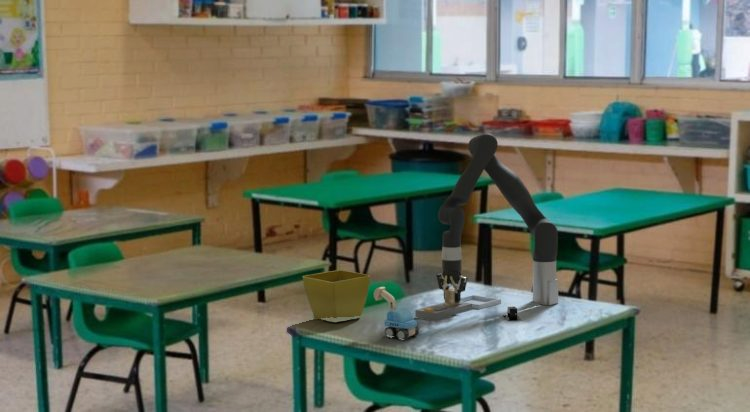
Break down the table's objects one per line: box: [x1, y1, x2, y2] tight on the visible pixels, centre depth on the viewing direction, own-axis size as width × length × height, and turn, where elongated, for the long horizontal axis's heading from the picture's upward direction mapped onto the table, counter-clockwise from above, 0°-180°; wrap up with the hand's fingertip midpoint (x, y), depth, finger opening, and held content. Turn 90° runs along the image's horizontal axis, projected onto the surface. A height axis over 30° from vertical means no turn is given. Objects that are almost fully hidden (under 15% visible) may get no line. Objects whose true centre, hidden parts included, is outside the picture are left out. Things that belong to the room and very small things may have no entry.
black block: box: [502, 306, 523, 322], centre depth 474 cm, size 12×7×5 cm, turn 7°
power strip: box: [414, 301, 473, 322], centre depth 482 cm, size 10×22×4 cm, turn 137°
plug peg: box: [444, 287, 459, 307], centre depth 485 cm, size 4×4×9 cm
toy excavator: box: [373, 286, 420, 340], centre depth 447 cm, size 9×17×17 cm, turn 51°
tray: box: [460, 294, 502, 310], centre depth 496 cm, size 14×14×2 cm
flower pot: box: [302, 269, 371, 320], centre depth 476 cm, size 19×19×17 cm
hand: (452, 301), depth 485 cm, fingers open, 4 cm apart
